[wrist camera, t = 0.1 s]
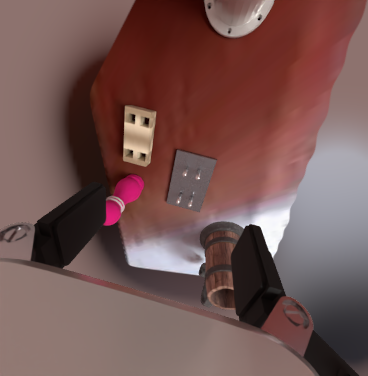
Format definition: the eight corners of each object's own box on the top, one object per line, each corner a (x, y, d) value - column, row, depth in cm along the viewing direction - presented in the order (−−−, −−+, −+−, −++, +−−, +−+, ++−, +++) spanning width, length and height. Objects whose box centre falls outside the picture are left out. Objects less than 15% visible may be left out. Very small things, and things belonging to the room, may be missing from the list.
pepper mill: (149, 190, 55) (118, 234, 37) (130, 194, 57) (93, 238, 39) (139, 170, 52) (101, 207, 34) (120, 175, 54) (74, 213, 36)
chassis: (177, 148, 47) (173, 155, 42) (216, 159, 46) (216, 166, 41) (167, 201, 56) (162, 211, 51) (199, 210, 55) (198, 221, 50)
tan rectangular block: (131, 105, 43) (125, 105, 40) (156, 111, 43) (151, 112, 40) (128, 156, 50) (123, 160, 47) (150, 162, 50) (146, 166, 47)
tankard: (216, 213, 55) (217, 268, 37) (260, 236, 56) (280, 299, 39) (183, 253, 66) (172, 309, 49) (220, 271, 68) (222, 332, 51)
